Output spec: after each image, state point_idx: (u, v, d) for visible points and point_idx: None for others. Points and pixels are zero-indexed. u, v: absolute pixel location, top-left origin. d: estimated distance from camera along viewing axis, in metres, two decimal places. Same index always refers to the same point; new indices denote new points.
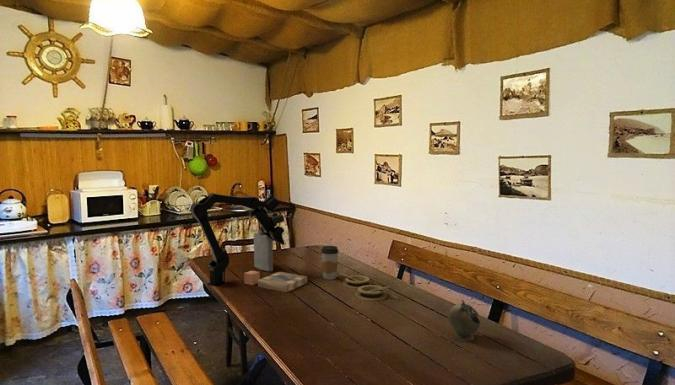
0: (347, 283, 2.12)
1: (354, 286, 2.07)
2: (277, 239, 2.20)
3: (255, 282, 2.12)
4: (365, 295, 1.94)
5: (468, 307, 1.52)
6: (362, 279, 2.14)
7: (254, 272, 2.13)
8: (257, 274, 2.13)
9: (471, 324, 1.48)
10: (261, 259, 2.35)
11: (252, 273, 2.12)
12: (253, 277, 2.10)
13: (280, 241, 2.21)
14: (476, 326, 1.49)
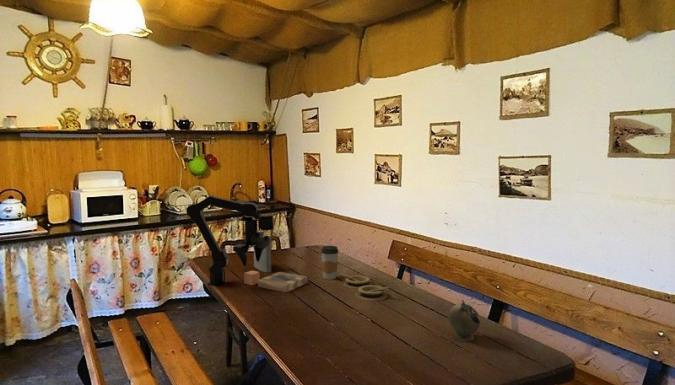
0: (347, 283, 2.12)
1: (354, 286, 2.07)
2: (240, 255, 2.08)
3: (255, 282, 2.12)
4: (365, 295, 1.94)
5: (468, 307, 1.52)
6: (362, 279, 2.14)
7: (254, 272, 2.13)
8: (257, 274, 2.13)
9: (471, 324, 1.48)
10: None
11: (252, 273, 2.12)
12: (253, 277, 2.10)
13: (242, 260, 2.08)
14: (476, 326, 1.49)
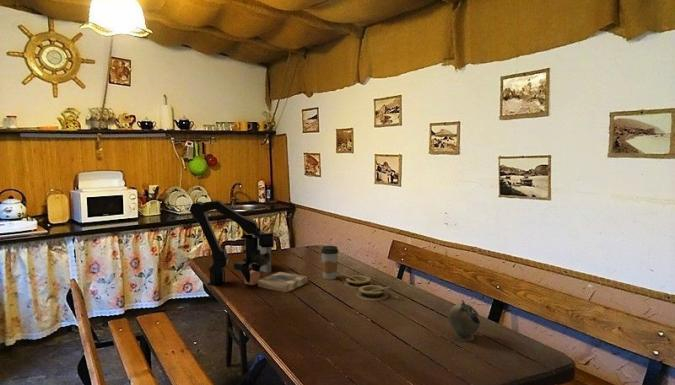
0: (348, 283, 2.12)
1: (355, 286, 2.07)
2: (243, 272, 2.10)
3: (255, 282, 2.12)
4: (366, 295, 1.94)
5: (468, 307, 1.52)
6: (363, 279, 2.14)
7: (254, 272, 2.13)
8: (257, 274, 2.13)
9: (471, 324, 1.48)
10: None
11: (252, 273, 2.12)
12: (253, 277, 2.10)
13: (245, 276, 2.11)
14: (476, 326, 1.49)
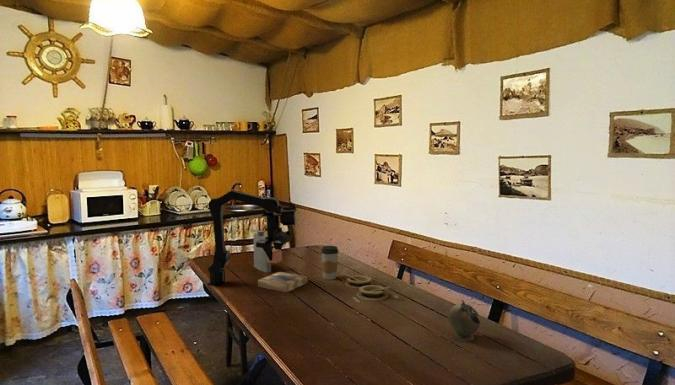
0: (349, 283, 2.12)
1: (356, 286, 2.07)
2: (265, 250, 2.07)
3: (277, 260, 2.09)
4: (366, 295, 1.94)
5: (468, 307, 1.52)
6: (364, 279, 2.14)
7: (276, 250, 2.11)
8: (279, 252, 2.10)
9: (471, 324, 1.48)
10: (259, 259, 2.35)
11: (274, 251, 2.09)
12: (275, 255, 2.08)
13: (267, 255, 2.08)
14: (476, 326, 1.49)
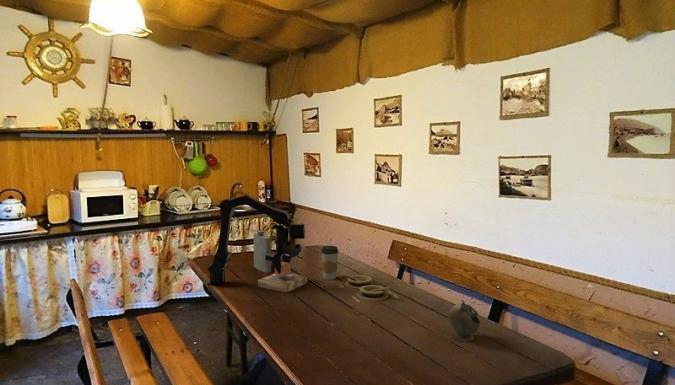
0: (349, 283, 2.12)
1: (356, 286, 2.07)
2: (274, 263, 2.07)
3: (286, 273, 2.09)
4: (367, 295, 1.94)
5: (468, 307, 1.52)
6: (364, 279, 2.14)
7: (285, 263, 2.10)
8: (288, 265, 2.10)
9: (471, 324, 1.48)
10: (259, 259, 2.35)
11: (283, 264, 2.09)
12: (284, 268, 2.07)
13: (276, 267, 2.07)
14: (476, 326, 1.49)
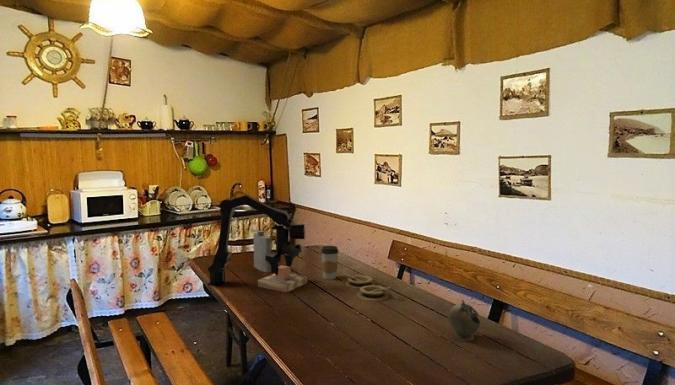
0: (350, 283, 2.12)
1: (356, 286, 2.07)
2: (271, 264, 2.06)
3: (286, 277, 2.09)
4: (367, 295, 1.94)
5: (468, 307, 1.52)
6: (365, 279, 2.14)
7: (285, 267, 2.10)
8: (288, 269, 2.10)
9: (471, 324, 1.48)
10: (259, 259, 2.35)
11: (283, 268, 2.09)
12: (284, 272, 2.07)
13: (273, 269, 2.06)
14: (476, 326, 1.49)
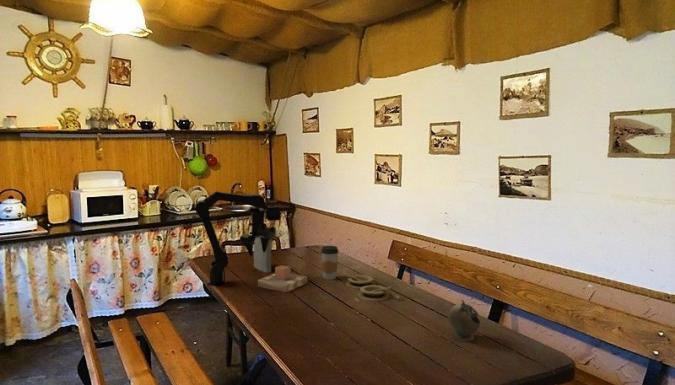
0: (350, 283, 2.12)
1: (357, 286, 2.07)
2: (246, 246, 2.12)
3: (286, 277, 2.09)
4: (367, 295, 1.94)
5: (468, 307, 1.52)
6: (365, 279, 2.14)
7: (285, 267, 2.10)
8: (288, 269, 2.10)
9: (471, 324, 1.48)
10: (259, 259, 2.35)
11: (283, 268, 2.09)
12: (284, 272, 2.07)
13: (248, 250, 2.12)
14: (476, 326, 1.49)
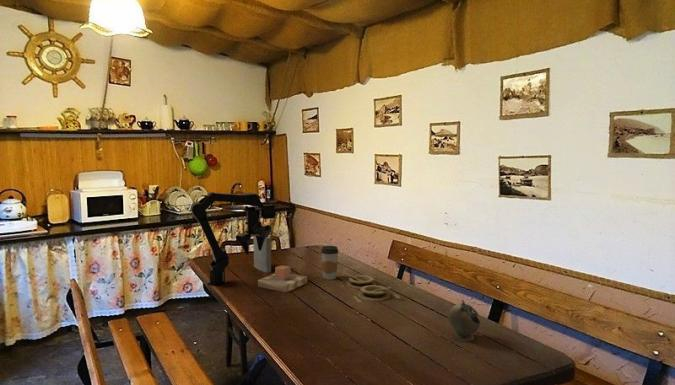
0: (351, 283, 2.12)
1: (358, 286, 2.07)
2: (242, 244, 2.13)
3: (286, 277, 2.09)
4: (368, 295, 1.94)
5: (468, 307, 1.52)
6: (366, 279, 2.14)
7: (285, 267, 2.10)
8: (288, 269, 2.10)
9: (471, 324, 1.48)
10: (259, 259, 2.35)
11: (283, 268, 2.09)
12: (284, 272, 2.07)
13: (244, 248, 2.13)
14: (476, 326, 1.49)
